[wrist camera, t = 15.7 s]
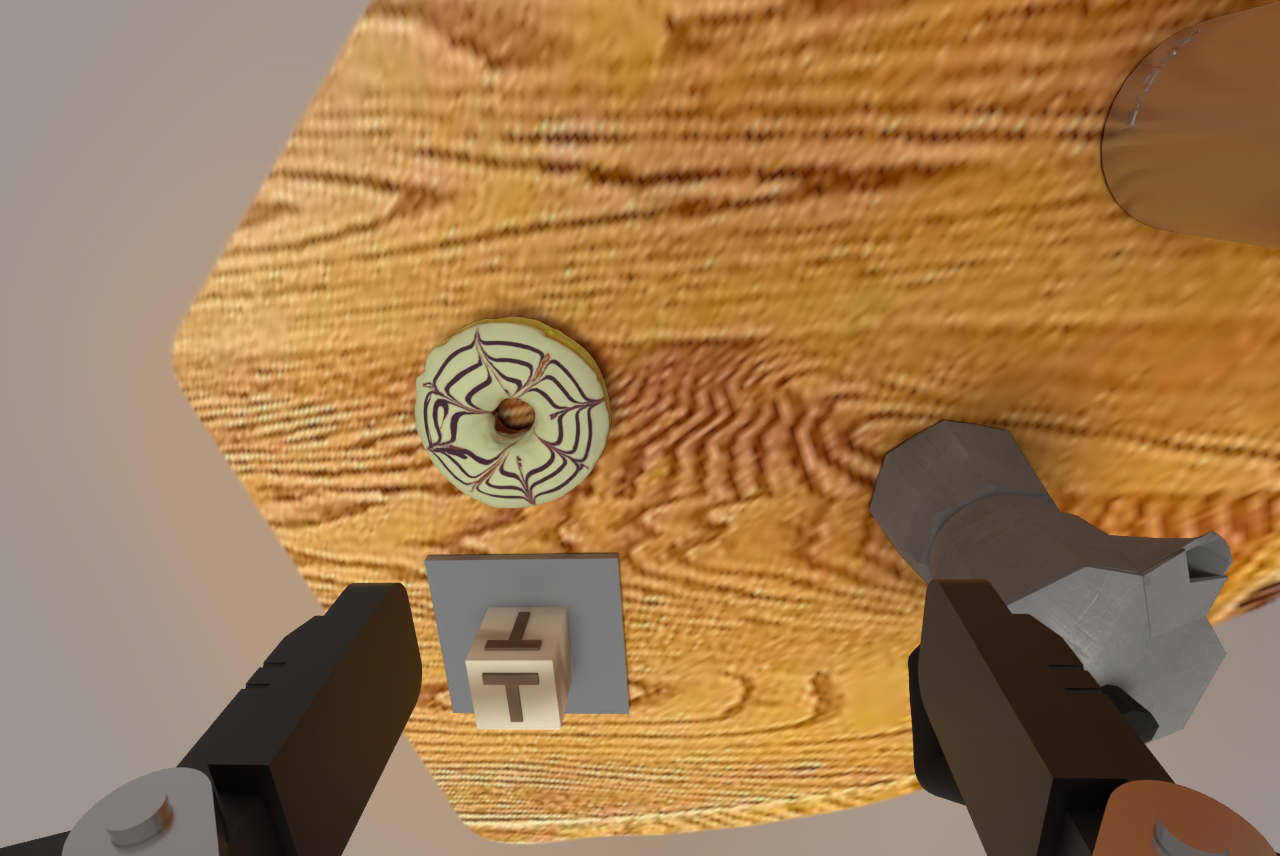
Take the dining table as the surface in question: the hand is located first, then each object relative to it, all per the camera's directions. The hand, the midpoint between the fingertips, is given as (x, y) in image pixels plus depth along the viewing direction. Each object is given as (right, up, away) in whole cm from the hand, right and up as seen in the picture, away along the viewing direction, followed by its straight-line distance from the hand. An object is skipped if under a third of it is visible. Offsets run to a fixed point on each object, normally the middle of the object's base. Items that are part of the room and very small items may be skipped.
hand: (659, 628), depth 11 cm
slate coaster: (-7, -10, +35) cm, 37 cm away
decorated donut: (-7, +5, +29) cm, 31 cm away
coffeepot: (+17, -1, +30) cm, 34 cm away
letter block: (-7, -10, +34) cm, 37 cm away
